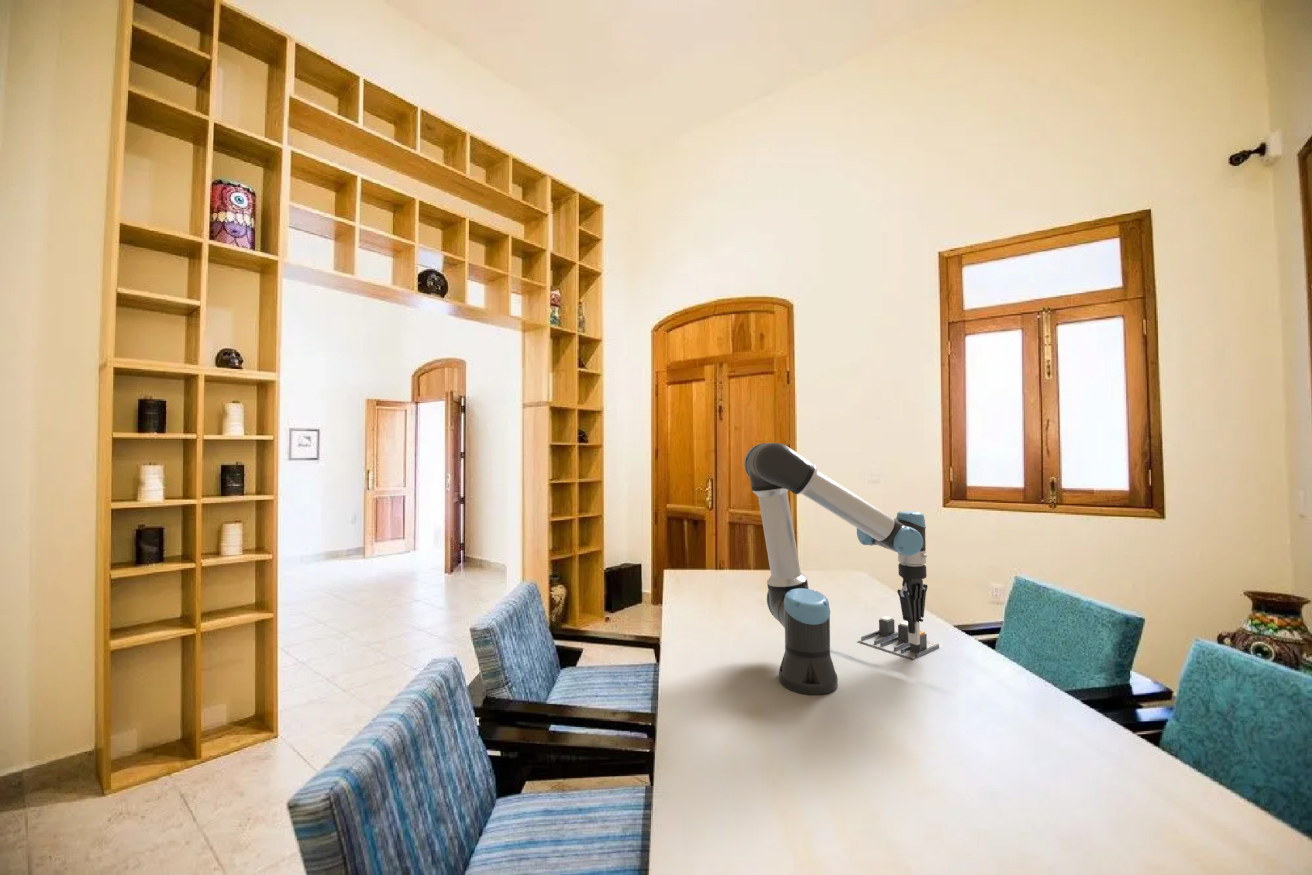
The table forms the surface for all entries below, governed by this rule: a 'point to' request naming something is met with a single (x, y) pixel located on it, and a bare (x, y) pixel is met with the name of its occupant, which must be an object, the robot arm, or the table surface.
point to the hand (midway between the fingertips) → (914, 643)
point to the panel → (903, 647)
